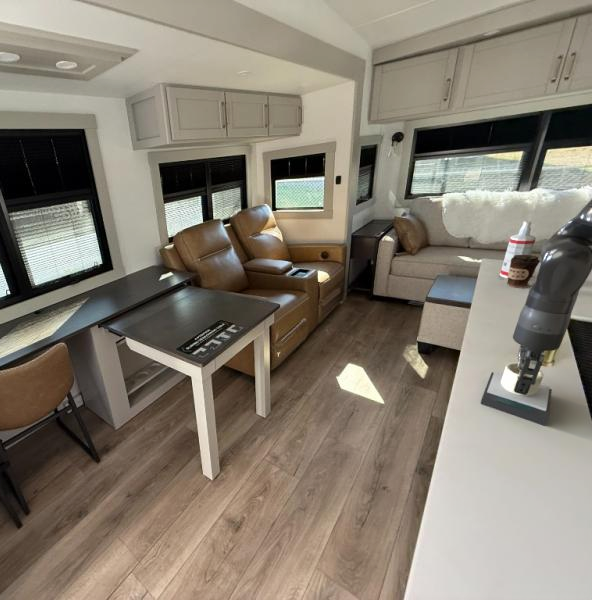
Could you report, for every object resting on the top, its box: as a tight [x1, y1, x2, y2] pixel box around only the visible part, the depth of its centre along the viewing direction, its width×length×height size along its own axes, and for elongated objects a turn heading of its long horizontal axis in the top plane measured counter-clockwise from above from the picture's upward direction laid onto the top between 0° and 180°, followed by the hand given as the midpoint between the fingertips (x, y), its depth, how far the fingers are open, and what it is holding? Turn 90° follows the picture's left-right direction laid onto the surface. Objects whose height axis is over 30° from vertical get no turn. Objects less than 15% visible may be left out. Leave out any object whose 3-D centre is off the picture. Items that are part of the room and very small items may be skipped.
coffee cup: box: [506, 254, 541, 289], centre depth 133 cm, size 9×8×13 cm
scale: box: [480, 371, 553, 426], centre depth 78 cm, size 13×11×3 cm
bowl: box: [501, 362, 545, 396], centre depth 77 cm, size 6×6×6 cm
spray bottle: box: [499, 220, 537, 279], centre depth 140 cm, size 8×8×25 cm
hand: (520, 383), depth 77 cm, fingers open, 7 cm apart
